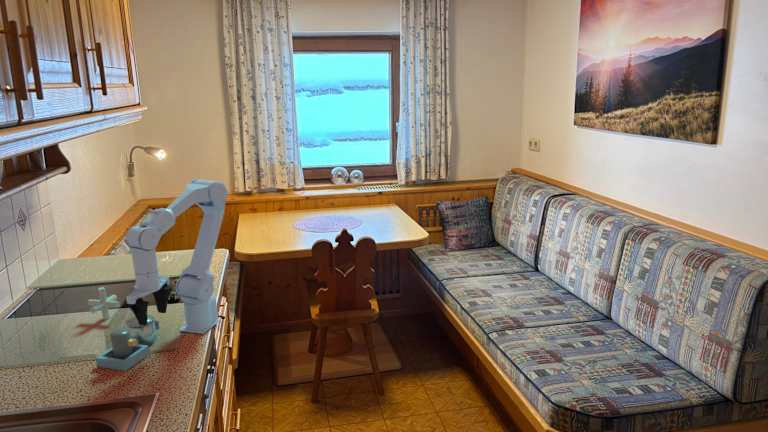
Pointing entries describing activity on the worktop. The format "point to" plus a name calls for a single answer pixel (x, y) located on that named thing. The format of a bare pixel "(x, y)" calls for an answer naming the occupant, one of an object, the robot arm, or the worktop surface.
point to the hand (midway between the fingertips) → (152, 318)
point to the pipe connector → (103, 303)
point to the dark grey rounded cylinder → (122, 343)
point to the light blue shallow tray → (119, 364)
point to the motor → (143, 330)
